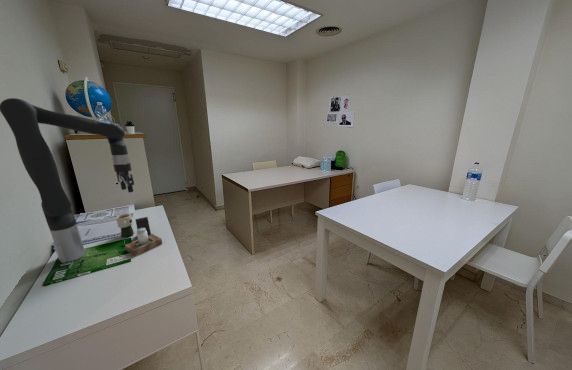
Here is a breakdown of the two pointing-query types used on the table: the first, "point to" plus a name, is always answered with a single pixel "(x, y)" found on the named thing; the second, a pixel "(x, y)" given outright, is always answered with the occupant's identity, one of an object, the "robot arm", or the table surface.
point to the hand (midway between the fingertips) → (127, 190)
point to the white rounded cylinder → (142, 236)
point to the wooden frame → (138, 249)
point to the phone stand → (143, 224)
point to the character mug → (125, 224)
